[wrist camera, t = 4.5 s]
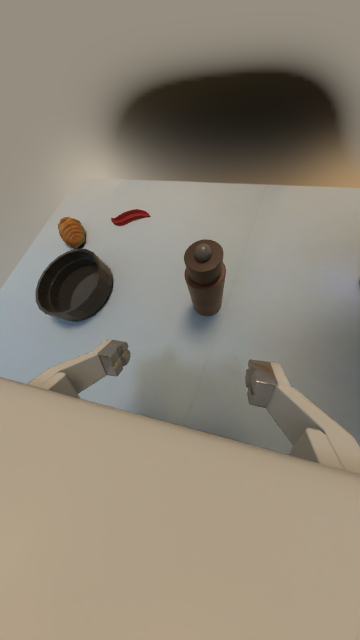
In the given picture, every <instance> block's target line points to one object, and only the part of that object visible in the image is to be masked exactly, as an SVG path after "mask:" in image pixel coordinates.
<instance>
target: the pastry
mask: <svg viewBox="0 0 360 640" xmlns="http://www.w3.org/2000/svg"><path fill="white" fill-rule="evenodd" d="M58 229H59V233H60V236H61V238H62V239H63V241H64V242H66V243H67V244H69V245H70V246H71V247H73V248H78V247H79V246H80V245H82V244H83V243H84V242H85V231H84V229H83V227H82V225H81V223H80V221H78V220H76V219H73V218H70V217H64V218H62V219H61V220H60V223H59V224H58Z"/></svg>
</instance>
